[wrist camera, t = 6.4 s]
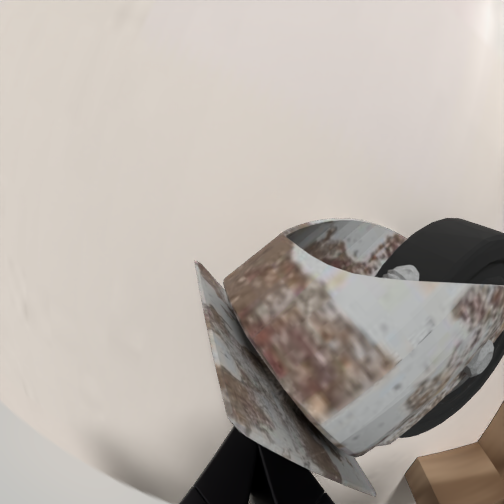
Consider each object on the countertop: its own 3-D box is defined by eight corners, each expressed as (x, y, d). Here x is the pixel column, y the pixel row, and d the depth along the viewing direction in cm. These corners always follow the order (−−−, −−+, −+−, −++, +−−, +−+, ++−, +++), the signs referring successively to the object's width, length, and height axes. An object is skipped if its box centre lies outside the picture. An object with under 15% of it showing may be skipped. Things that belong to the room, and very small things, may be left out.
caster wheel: (466, 296, 14) (333, 418, 14) (398, 101, 9) (179, 268, 9) (553, 350, 8) (394, 514, 8) (555, 93, 3) (196, 446, 3)
